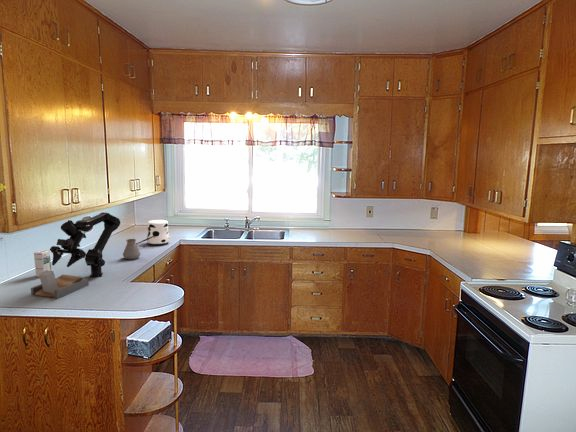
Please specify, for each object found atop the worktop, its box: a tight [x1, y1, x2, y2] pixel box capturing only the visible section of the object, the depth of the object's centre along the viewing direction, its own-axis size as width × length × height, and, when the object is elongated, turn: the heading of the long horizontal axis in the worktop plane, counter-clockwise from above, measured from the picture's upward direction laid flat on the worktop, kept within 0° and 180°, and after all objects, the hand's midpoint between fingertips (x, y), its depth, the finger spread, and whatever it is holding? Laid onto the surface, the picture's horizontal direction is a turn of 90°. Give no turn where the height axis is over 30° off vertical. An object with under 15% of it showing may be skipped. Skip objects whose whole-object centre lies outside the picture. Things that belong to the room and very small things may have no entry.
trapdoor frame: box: [30, 276, 90, 300], centre depth 211 cm, size 22×16×4 cm
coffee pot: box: [122, 236, 155, 260], centre depth 276 cm, size 21×12×15 cm, turn 108°
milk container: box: [146, 219, 171, 246], centre depth 318 cm, size 17×17×18 cm
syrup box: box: [33, 249, 52, 278], centre depth 234 cm, size 6×6×14 cm
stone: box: [38, 270, 58, 293], centre depth 203 cm, size 4×4×10 cm
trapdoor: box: [35, 274, 82, 299], centre depth 210 cm, size 19×12×4 cm, turn 166°
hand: (60, 265), depth 210 cm, fingers open, 9 cm apart
